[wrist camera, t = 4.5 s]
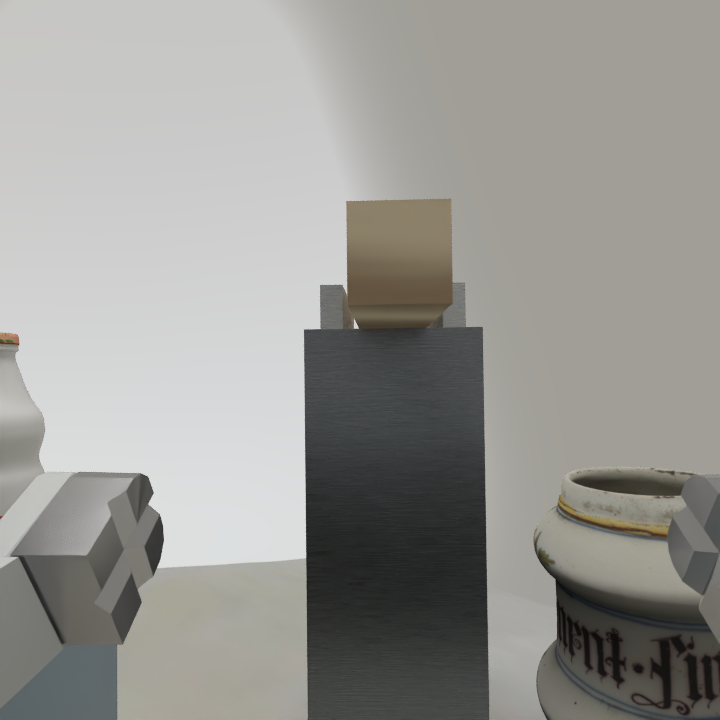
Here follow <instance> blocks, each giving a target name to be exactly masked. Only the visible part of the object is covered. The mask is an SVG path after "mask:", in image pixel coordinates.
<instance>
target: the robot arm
mask: <svg viewBox="0 0 720 720" xmlns="http://www.w3.org/2000/svg"><path fill="white" fill-rule="evenodd" d="M152 495H153V490H152V487H151V484H150V481H149V478H148V477H147V476H145V475H143V474H141V473H102V472H78V473H74V472H46V473H44V474H41V475H39V476H37V477H36V478H35V479H34V480H33V482H32V483H31V484H30V485H29V486H28V488H27V489H26V490H25V491H24V492H23V493H22V495H21V496H20V497H19V498H18V499H17V501H16V502H15V503H14V504H13V505H12V506H11V508H10V509H9V510H8V511H7V512H6V514H5V515H4V516H3V517H2V518H1V519H0V708H1V707H3V706H4V705H5V704H6V703H7V702H8V701H9V700H10V699H11V698H12V697H13V696H14V695H15V694H16V693H17V692H18V691H19V690H21V689H22V688H23V687H24V686H25V685H26V684H27V683H28V682H29V681H30V680H31V679H32V678H33V677H34V676H35V675H36V674H38V673H39V672H40V671H41V670H42V669H43V668H44V667H45V666H46V665H47V664H48V663H49V662H50V661H51V660H52V659H53V658H54V657H56V656H57V655H58V654H59V653H60V652H61V651H62V650H63V646H62V645H122V644H123V643H124V640H125V638H126V636H127V634H128V632H129V629H130V627H131V625H132V623H133V620H134V618H135V616H136V614H137V612H138V609H139V607H140V605H141V603H142V602H141V599H140V596H139V593H138V588H139V587H140V586H142V585H143V584H144V583H145V582H147V581H148V580H149V579H150V578H152V577H153V576H154V573H155V571H156V569H157V566H158V564H159V561H160V558H161V553H162V546H163V542H164V536H163V525H162V521H161V517H160V514H159V513H158V512H156V511H155V510H154V509H153V508H152V507H150V506H149V505H148V503H149V501H150V499H151V497H152ZM681 497H682V499H683V500H684V502H685V504H686V505H687V506H686V507H685V508H684V509H682V510H681V511H680V512H678V513H677V514H676V515H674V516H673V517H672V520H671V523H670V526H669V530H668V533H667V537H668V550H669V554H670V557H671V560H672V563H673V566H674V568H675V570H676V572H677V573H678V575H679V577H680V579H681V580H682V582H684V583H685V584H686V585H688V586H689V587H691V588H692V589H693V590H695V591H696V592H698V593H699V594H700V595H701V599H700V604H699V611H700V612H701V614H702V616H703V617H704V619H705V621H706V622H707V624H708V626H709V627H710V629H711V631H712V632H713V634H714V636H715V637H716V639H717V641H718V642H719V644H720V475H692V476H691V477H690V478H689V479H688V480H687V481H686V482H685V484H684V487H683V489H682V492H681Z"/></svg>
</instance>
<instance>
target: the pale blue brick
mask: <svg viewBox="0 0 720 720" xmlns="http://www.w3.org/2000/svg"><path fill="white" fill-rule="evenodd" d="M62 646H63V650H62V651H61V652H60V653H59V654H58V655H57V656H56V657H54V658H53V659H52V660H51V661H50V662H49V663H48V664H47V665H46V666H45V667H44V668H43V669H42V670H41V671H40V672H39V673H38V674H36V675H35V676H34V677H33V678H32V679H31V680H30V681H29V682H28V683H27V684H26V685H25V686H24V687H23V688H22V689H21V690H19V691H18V692H17V693H16V694H15V695H14V696H13V697H12V698H11V699H10V700H9V701H8V702H7V703H6V704H5V705H4V706H3V707H1V708H0V720H117V645H62Z"/></svg>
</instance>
